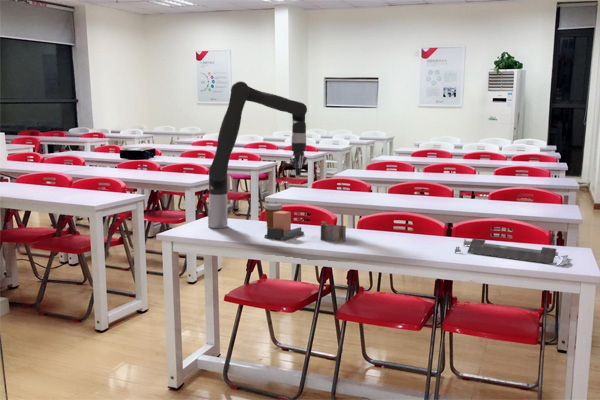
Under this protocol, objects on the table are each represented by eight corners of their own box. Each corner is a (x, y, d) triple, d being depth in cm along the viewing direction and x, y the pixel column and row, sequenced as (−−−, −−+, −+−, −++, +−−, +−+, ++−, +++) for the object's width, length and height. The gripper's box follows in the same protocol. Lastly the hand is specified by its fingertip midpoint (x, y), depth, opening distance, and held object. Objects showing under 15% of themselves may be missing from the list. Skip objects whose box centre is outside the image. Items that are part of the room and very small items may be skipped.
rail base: (285, 231, 288) (285, 222, 287) (303, 234, 282) (303, 224, 281) (264, 237, 274) (264, 227, 273) (283, 240, 268) (283, 230, 267)
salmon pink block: (280, 231, 280) (280, 210, 278) (290, 232, 277) (290, 212, 275) (273, 233, 275) (273, 212, 273) (283, 234, 272) (283, 213, 270)
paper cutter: (465, 245, 264) (466, 233, 263) (572, 259, 241) (573, 246, 240) (453, 253, 249) (454, 241, 248) (566, 269, 226) (567, 255, 225)
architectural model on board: (320, 241, 270) (320, 220, 268) (322, 239, 273) (322, 219, 271) (343, 243, 266) (343, 222, 264) (345, 242, 269) (345, 221, 267)
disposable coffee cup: (261, 228, 296) (261, 205, 295) (267, 224, 305) (267, 202, 304) (278, 229, 294) (279, 206, 292) (284, 226, 303) (285, 203, 301)
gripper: (299, 141, 305) (298, 173, 308) (285, 142, 294) (285, 175, 297) (311, 141, 301) (310, 175, 304) (298, 142, 290) (297, 177, 293)
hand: (298, 175), depth 300 cm, fingers closed
